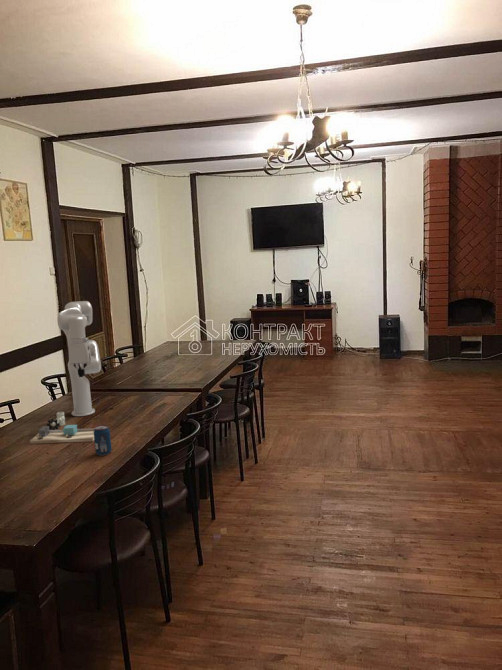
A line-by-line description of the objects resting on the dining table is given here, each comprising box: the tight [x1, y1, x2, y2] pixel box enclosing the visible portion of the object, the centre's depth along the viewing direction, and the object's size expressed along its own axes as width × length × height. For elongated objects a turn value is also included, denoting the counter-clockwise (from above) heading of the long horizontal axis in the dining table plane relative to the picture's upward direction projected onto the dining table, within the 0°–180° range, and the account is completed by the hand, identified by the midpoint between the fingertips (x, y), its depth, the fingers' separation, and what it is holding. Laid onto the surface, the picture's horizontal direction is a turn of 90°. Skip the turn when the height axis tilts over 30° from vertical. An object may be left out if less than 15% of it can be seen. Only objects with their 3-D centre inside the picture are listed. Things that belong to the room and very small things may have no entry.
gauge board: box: [29, 425, 95, 445], centre depth 260 cm, size 12×30×5 cm, turn 89°
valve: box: [46, 411, 66, 430], centre depth 277 cm, size 7×7×12 cm
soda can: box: [93, 424, 112, 456], centre depth 237 cm, size 7×7×12 cm
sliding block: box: [62, 424, 78, 437], centre depth 259 cm, size 8×5×4 cm, turn 179°
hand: (81, 376), depth 271 cm, fingers closed
